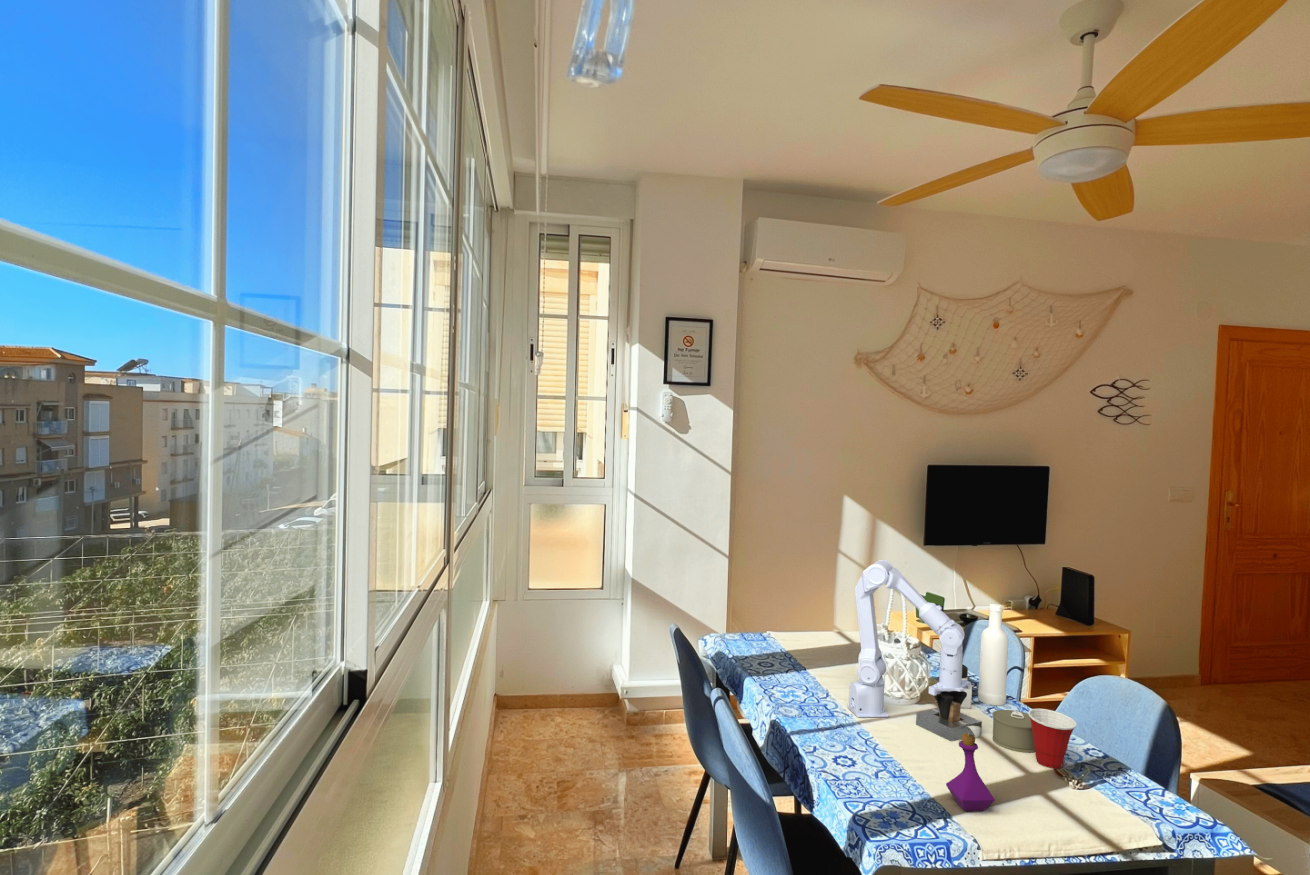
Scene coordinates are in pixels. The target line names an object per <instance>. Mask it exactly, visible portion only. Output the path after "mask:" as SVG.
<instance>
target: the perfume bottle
mask: <svg viewBox="0 0 1310 875" xmlns="http://www.w3.org/2000/svg"><path fill="white" fill-rule="evenodd" d="M966 729H967V730H968V733H965V734H962V735H961V738H962V739H961V740H960V741H959V742H958V746H959V748H961V750H962V751H963V753H964V766H963V769H962V771H961V772H960V773H959V774H957V776H955V777H954V778H952V779H951V780H949V781H948V782H946V783H945V784H946V785H945V786H946V787H947V789H948V791H949V793H950V794H951V796H952V797H953V800H954V801H955V803H956V804H957V805H958V806H959V807H960V808H961V809H962V810H963V811H964V812H983V811H985V810H986V809H987V808H988V807H989V806H990V805H991V804H992V803H994V802H995V801H996V799H995V798H994V796H993V795H992V793H991V791H990V790H989V789H988V788H989V787H987V785H986V784H985V782H984V781H983V779H982V777H981V776H980V775H979V772H978V769H977V766H976V762H975V752H976V750H978V749H979V746H978V744H977V743H976V739H977V740H978V739H979V738H980V731H981V728H980V727H979V726H966ZM971 730H972V732H973V734H974V735H975V736H974V735H972V734H969V732H970V731H971Z"/></svg>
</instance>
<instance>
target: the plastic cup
mask: <svg viewBox="0 0 1310 875" xmlns="http://www.w3.org/2000/svg"><path fill="white" fill-rule="evenodd" d="M1027 713H1028V714H1029V716H1030V719H1031V726H1032V732H1033V741H1034V748H1035V752H1034V753H1035V759H1036V763H1038V765H1040V766H1042V767H1045V768H1049V769H1061V768H1062V767H1063V765H1064V762H1065V756H1066V755H1067V751H1068V748H1069V742H1070V740H1071V736H1072V733H1073V731H1074V730H1075V729H1076V727H1077V722H1076V720H1075V719H1073V718H1072V717H1070V716H1068V715H1066V714H1064V713H1061V712H1058V711H1056V710H1052V709H1046V708H1031V709H1030V710H1028V712H1027Z"/></svg>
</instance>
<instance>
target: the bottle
mask: <svg viewBox="0 0 1310 875" xmlns="http://www.w3.org/2000/svg"><path fill="white" fill-rule="evenodd" d="M988 612H989V613H988V626H987V627H986V628H984V629H983V630H982V632H981V634H980V650H979V652H980V653H979V669H978V670H979V674H978V675H979V676H978V688H977V689H978V691H977V695H978V696H977V698H978V699H977V700H978V701H980V702H981V703H983V704H986V705H989V706H994V707H995V706H996V707H1001V706H1004V705H1005V704H1006V703H1007V702H1006V701H1007V682H1008V681H1007V680H1008V679H1007V677H1008V656H1009V638H1008V634H1007V632H1006V631H1005V630H1004V628H1002V625H1003V623H1002V620H1003V612H1004V610H1003V605H1002V604H1000V603H990V604H989V607H988Z"/></svg>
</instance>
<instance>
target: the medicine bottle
mask: <svg viewBox="0 0 1310 875" xmlns="http://www.w3.org/2000/svg"><path fill="white" fill-rule="evenodd" d="M968 671H969V668H968V667H967V665H965V664H963V663H962V680H966V681H968V677H969V676H968V675H969V674H968V673H969V672H968ZM964 692H966V693H967V697H966V698H965V699H964V701H963V702H962V704H961V709H972V695H973V694H972V693H973V685H972V684H971V689H964Z"/></svg>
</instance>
